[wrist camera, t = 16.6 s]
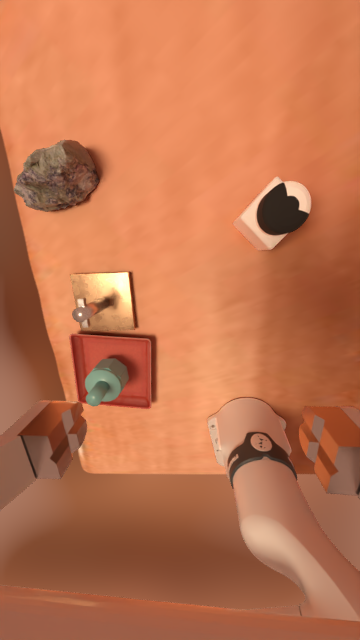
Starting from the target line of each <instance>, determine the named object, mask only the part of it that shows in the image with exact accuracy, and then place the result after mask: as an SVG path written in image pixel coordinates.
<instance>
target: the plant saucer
mask: <svg viewBox="0 0 360 640" xmlns="http://www.w3.org/2000/svg"><path fill="white" fill-rule="evenodd" d="M69 338H70V345H71V353H72V360H73V368H74V375H75V383H76V391H77V398H78V401H79V402H80V403H86V404H88V403H87V402H86V396H87V395H88V392H87V390H86V387H85V379H86V377H87V376H88V375H89V374H90V372H91V371H92V370H93V369H94V367H95V366H96V365H97V364H98V363H99V362H100V361H101V360H102V359H113V358H115V359H117V360H118V361H120V362H121V363H122V364H124V365H125V366H126V367H127V371H128V376H129V379H128V381H127V383H126V385H125V387H124V389H123V390H122V391H121V393H120V394H119V395H118V397H117V398H116V399H114V400H112V401H107V402H104V401H101V403H100V404H99V405H107V406H119V407H131V408H142V409H150V408H151V341H150V340H149V339H144V338H128V337H113V336H98V335H84V334H71V335H70V336H69Z"/></svg>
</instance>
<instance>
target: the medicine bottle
mask: <svg viewBox="0 0 360 640" xmlns="http://www.w3.org/2000/svg"><path fill="white" fill-rule="evenodd" d="M310 209H311V197H310V194H309V192H308V190H307V188H306V187H305V186H304V185H302V184H301V183H298V182H295V181H286V182H282V180H281V179H280V178H279V177H275V178H274V179H273V180H272V181H271V182H270V183H269V184H268V185H267V186H266V187H265V188H264V189H263V190H262V191H261V192H260V193H259V194H258V195H257V196H256V197H255V198H254V200H253V201H252V202H251V203H250V204H249V205H248V206H247V207H246V208H245V210H244V211H243V212H242V213H241V214H240V215H239V216H238V217H237V218H236V220H235V221H234V222H233V225H234V226H235V227H236V228H237V229H238V230H239V231H240V232H241V234H242V235H243V236H244V237H245V238H246V239H247V240H248V241H249V242H250V243H251V244H252V245H253V246H254V247H255V248H256V249H257V250H271V249H273V248H274V247H275V246H276V245H277V244H278V243H279V242H280V241H281V240H282V239H283V238H284V237H285V236H286V235H287V234H288V233H290V232H293V231H295V230H296V229H298V228H299V227H300V226H301V225H302V224H303V223H304V222H305V221H306V219H307V217H308V215H309V213H310Z"/></svg>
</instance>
